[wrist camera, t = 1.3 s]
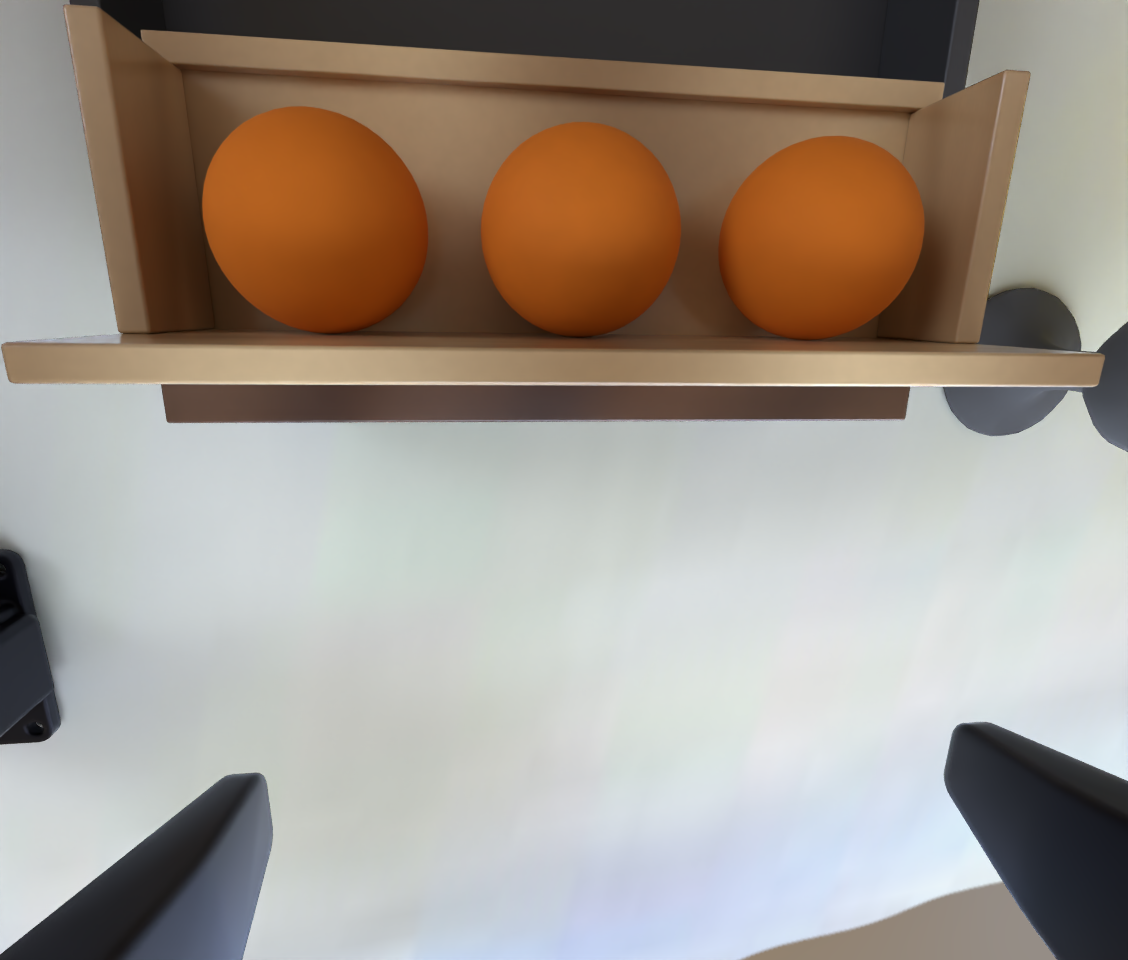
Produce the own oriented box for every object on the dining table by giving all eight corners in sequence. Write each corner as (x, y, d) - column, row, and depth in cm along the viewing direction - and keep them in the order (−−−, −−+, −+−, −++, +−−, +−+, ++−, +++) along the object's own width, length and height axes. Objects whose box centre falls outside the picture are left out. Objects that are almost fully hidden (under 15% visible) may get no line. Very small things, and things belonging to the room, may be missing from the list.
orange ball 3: (684, 307, 14) (738, 367, 11) (711, 125, 12) (787, 136, 9) (832, 310, 14) (925, 368, 11) (882, 135, 12) (1009, 148, 9)
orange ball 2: (482, 304, 13) (482, 365, 10) (479, 112, 11) (477, 119, 8) (643, 307, 14) (688, 366, 11) (665, 122, 12) (727, 133, 9)
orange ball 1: (265, 300, 13) (198, 362, 10) (224, 98, 11) (126, 100, 8) (439, 303, 13) (426, 365, 10) (429, 110, 11) (409, 115, 8)
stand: (257, 390, 18) (165, 423, 13) (228, 129, 17) (106, 45, 11) (798, 391, 20) (905, 420, 15) (825, 158, 19) (958, 99, 13)
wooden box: (204, 352, 13) (6, 384, 8) (162, 47, 11) (-118, -178, 6) (879, 358, 15) (1099, 387, 9) (919, 95, 13) (1207, -47, 8)
